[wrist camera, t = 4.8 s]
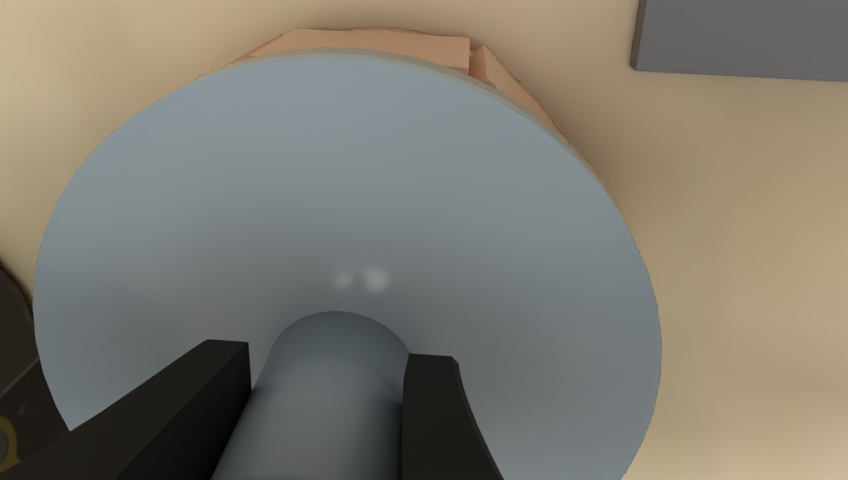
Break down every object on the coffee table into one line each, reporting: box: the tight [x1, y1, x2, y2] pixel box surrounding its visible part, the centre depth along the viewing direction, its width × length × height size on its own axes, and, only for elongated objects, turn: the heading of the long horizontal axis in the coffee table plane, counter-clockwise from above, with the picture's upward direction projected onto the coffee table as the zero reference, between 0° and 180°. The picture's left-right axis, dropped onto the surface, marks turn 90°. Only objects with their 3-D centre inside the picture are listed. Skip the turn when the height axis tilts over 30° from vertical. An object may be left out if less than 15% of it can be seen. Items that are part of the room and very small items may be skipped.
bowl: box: [231, 28, 562, 136], centre depth 15 cm, size 9×9×4 cm
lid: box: [33, 47, 662, 480], centre depth 10 cm, size 10×10×4 cm
